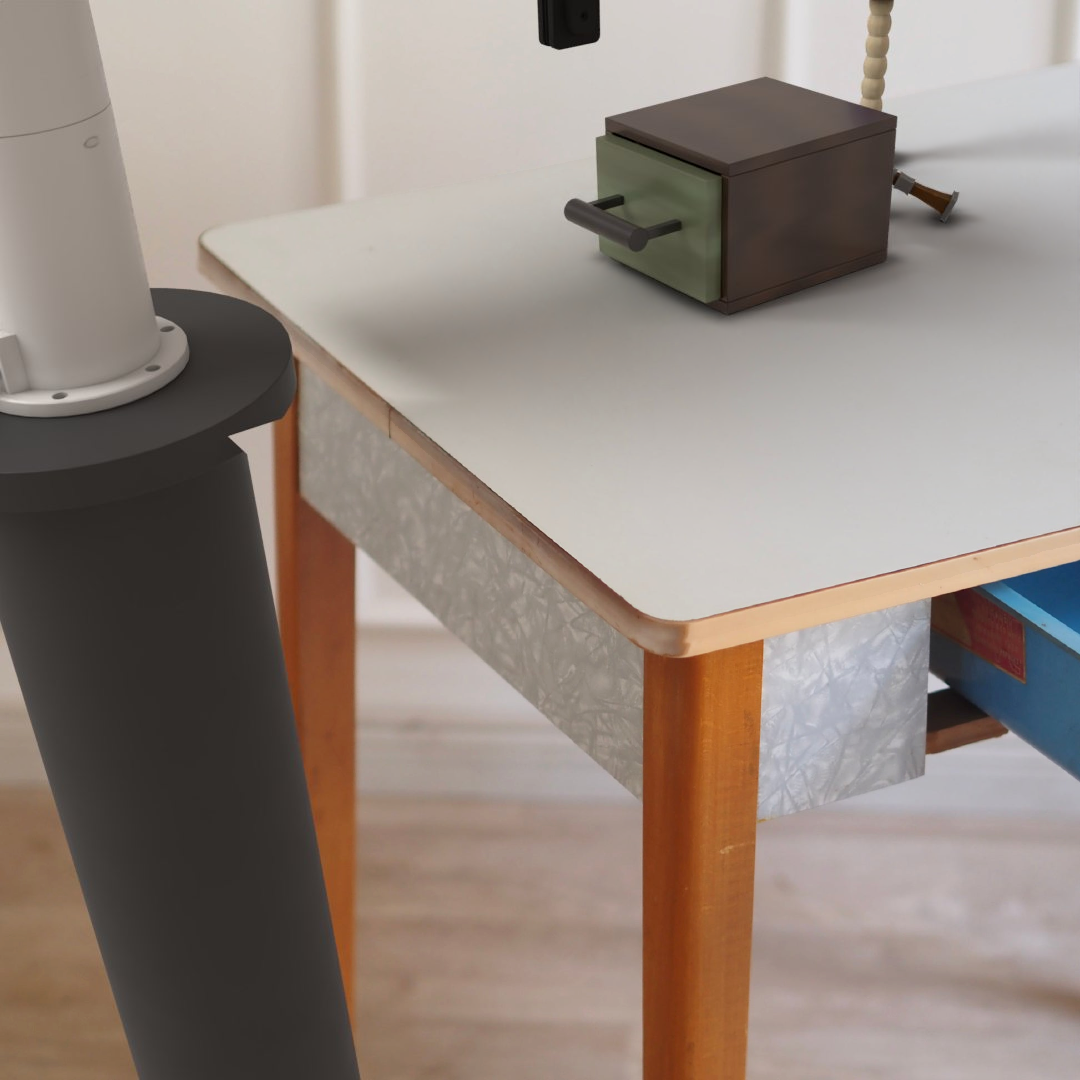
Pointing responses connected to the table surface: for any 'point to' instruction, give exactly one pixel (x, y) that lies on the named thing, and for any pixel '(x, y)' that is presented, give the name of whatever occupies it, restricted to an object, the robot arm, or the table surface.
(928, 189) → the wooden post with brackets
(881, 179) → the cabinet
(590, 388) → the table surface
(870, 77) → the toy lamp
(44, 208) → the robot arm
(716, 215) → the drawer
